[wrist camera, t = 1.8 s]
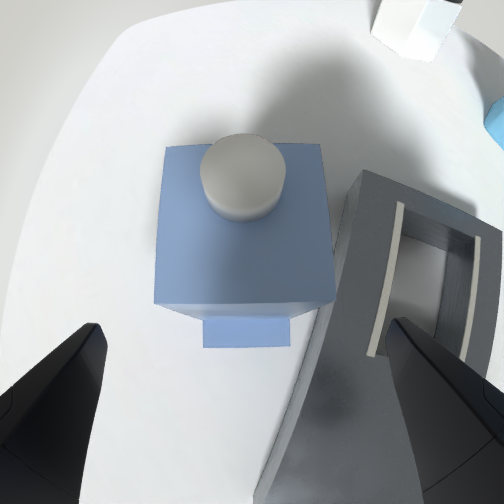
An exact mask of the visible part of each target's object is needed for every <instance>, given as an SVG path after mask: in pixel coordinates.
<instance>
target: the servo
mask: <svg viewBox="0 0 504 504" xmlns="http://www.w3.org/2000/svg"><path fill="white" fill-rule="evenodd" d="M334 301H336V285H335V272H334V259H333V248H332V238H331V228H330V218H329V209H328V201H327V193H326V185H325V178H324V170H323V163H322V156H321V150H320V144H294V143H271V142H269V141H268V140H266V139H264V138H262V137H259V136H256V135H252V134H235V135H230V136H227V137H224V138H222V139H220V140H218V141H217V142H215V143H214V144H205V145H187V146H172V147H166V151H165V159H164V167H163V176H162V185H161V194H160V205H159V216H158V229H157V244H156V262H155V286H154V304H156V305H159V306H162V307H165V308H168V309H170V310H173V311H176V312H179V313H182V314H185V315H188V316H191V317H194V318H197V319H200V320H203V348H248V347H280V346H290V318H293V317H296V316H298V315H301V314H303V313H306V312H309V311H311V310H314V309H316V308H319V307H321V306H324V305H326V304H329V303H331V302H334Z"/></svg>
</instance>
